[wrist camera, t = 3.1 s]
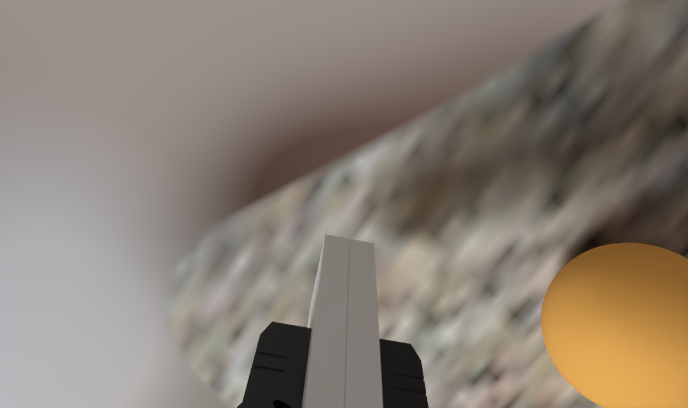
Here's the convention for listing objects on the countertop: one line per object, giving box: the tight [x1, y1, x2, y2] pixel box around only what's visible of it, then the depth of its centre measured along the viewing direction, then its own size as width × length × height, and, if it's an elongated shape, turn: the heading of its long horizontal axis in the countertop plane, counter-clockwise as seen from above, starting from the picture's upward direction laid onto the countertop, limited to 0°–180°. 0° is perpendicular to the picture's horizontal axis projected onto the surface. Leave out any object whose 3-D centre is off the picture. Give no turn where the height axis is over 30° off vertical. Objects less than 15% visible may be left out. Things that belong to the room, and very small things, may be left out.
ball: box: [541, 243, 688, 408], centre depth 16 cm, size 6×6×6 cm
